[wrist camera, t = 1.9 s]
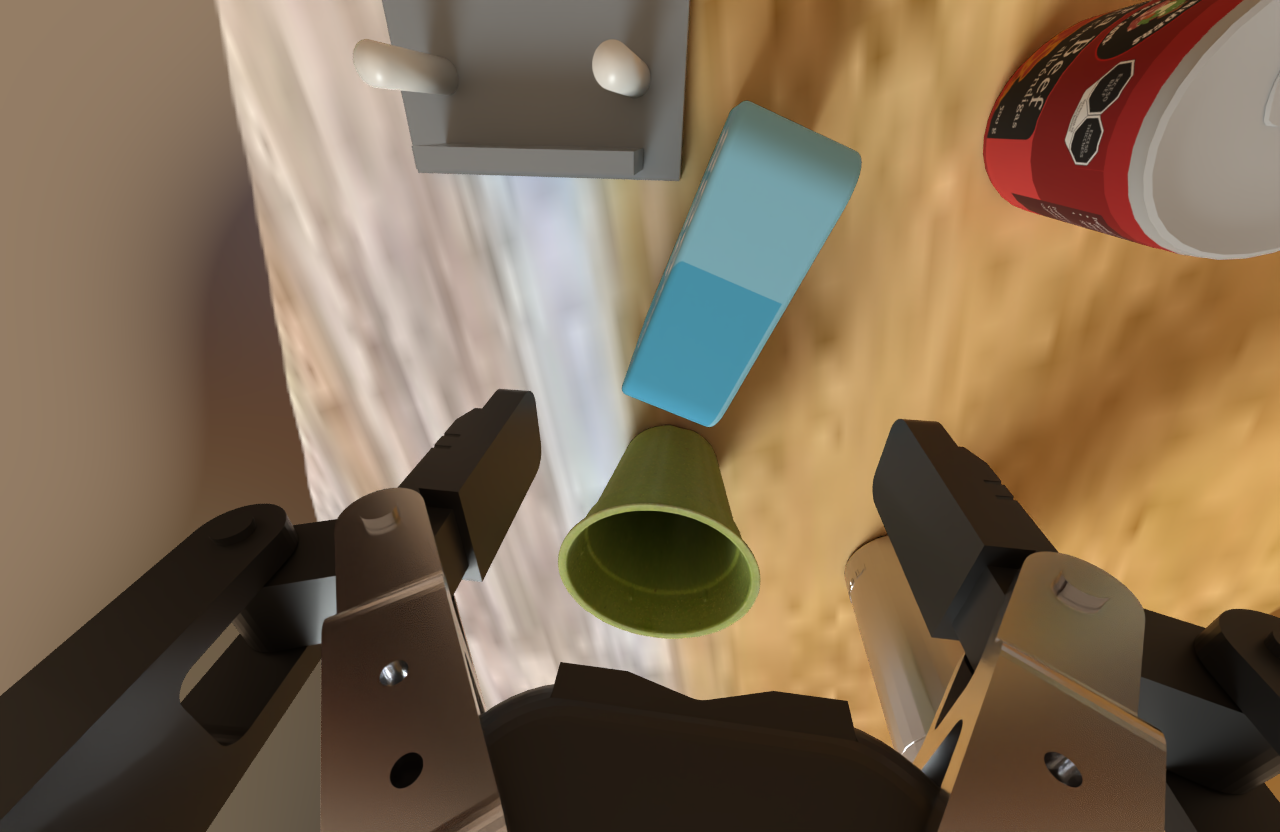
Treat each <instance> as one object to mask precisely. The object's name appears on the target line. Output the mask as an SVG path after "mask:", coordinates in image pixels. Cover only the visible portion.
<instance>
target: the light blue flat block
mask: <svg viewBox="0 0 1280 832" xmlns="http://www.w3.org/2000/svg"><path fill="white" fill-rule="evenodd" d="M861 163H862V162H861V156H860V155H859V153H858V152H856V151H855V150H853V149H850V148H848V147H846V146H844V145H842V144H840V143H838V142H835V141H833V140H831V139H829V138H827V137H825V136H823V135H821V134H818V133H816V132H814V131H812V130H810V129H808V128H806V127H803V126H801V125H799V124H797V123H795V122H793V121H791V120H789V119H786V118H784V117H782V116H780V115H778V114H776V113H774V112H772V111H769V110H767V109H765V108H763V107H761V106H759V105H757V104H754V103H752V102H750V101H743V102H741V103H740V104H739V105H737V106H736V107H735V108H733V109H732V110H731V111H730V113H729V116H728V118H727V120H726V122H725V125H724V127H723V129H722V132H721V134H720V137H719V139H718V142H717V144H716V146H715V149H714V151H713V154H712V156H711V159H710V161H709V164H708V166H707V168H706V171H705V173H704V176H703V178H702V181H701V183H700V186H699V188H698V190H697V193H696V195H695V198H694V200H693V203H692V205H691V208H690V210H689V212H688V215H687V217H686V220H685V222H684V225H683V227H682V230H681V232H680V234H679V237H678V239H677V242H676V244H675V247H674V249H673V252H672V254H671V256H670V259H669V261H668V264H667V266H666V269H665V271H664V274H663V276H662V278H661V281H660V283H659V286H658V288H657V291H656V293H655V296H654V298H653V301H652V303H651V306H650V308H649V311H648V313H647V316H646V319H645V322H644V325H643V328H642V330H641V333H640V336H639V339H638V342H637V345H636V348H635V351H634V353H633V356H632V359H631V362H630V365H629V368H628V371H627V374H626V377H625V379H624V382H623V385H622V391H623V393H624V394H626V395H628V396H631V397H633V398H636V399H638V400H641V401H643V402H646V403H648V404H651V405H653V406H656V407H658V408H661V409H663V410H666V411H668V412H671V413H673V414H676V415H678V416H681V417H683V418H686V419H688V420H691V421H693V422H696V423H698V424H701V425H703V426H706V427H712V426H714V425H715V424H717V423H718V422H719V420H720V419H721V418H722V417H723V415H724V414H725V412H726V410H727V409H728V407H729V405H730V403H731V402H732V400H733V398H734V397H735V395H736V393H737V391H738V390H739V388H740V386H741V385H742V383H743V381H744V380H745V378H746V376H747V374H748V373H749V371H750V369H751V368H752V366H753V364H754V362H755V361H756V359H757V357H758V356H759V354H760V352H761V350H762V349H763V347H764V345H765V344H766V342H767V340H768V339H769V337H770V335H771V333H772V332H773V330H774V328H775V327H776V325H777V323H778V321H779V320H780V318H781V316H782V315H783V313H784V311H785V310H786V308H787V306H788V304H789V303H790V301H791V299H792V298H793V296H794V294H795V292H796V291H797V289H798V287H799V286H800V284H801V282H802V280H803V279H804V277H805V275H806V274H807V272H808V270H809V269H810V267H811V265H812V263H813V262H814V260H815V258H816V257H817V255H818V253H819V251H820V250H821V248H822V246H823V245H824V243H825V241H826V240H827V238H828V236H829V234H830V233H831V231H832V229H833V228H834V226H835V224H836V222H837V221H838V219H839V217H840V216H841V214H842V212H843V210H844V209H845V207H846V205H847V203H848V201H849V199H850V197H851V195H852V193H853V191H854V189H855V186H856V184H857V181H858V178H859V175H860V171H861Z"/></svg>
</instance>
